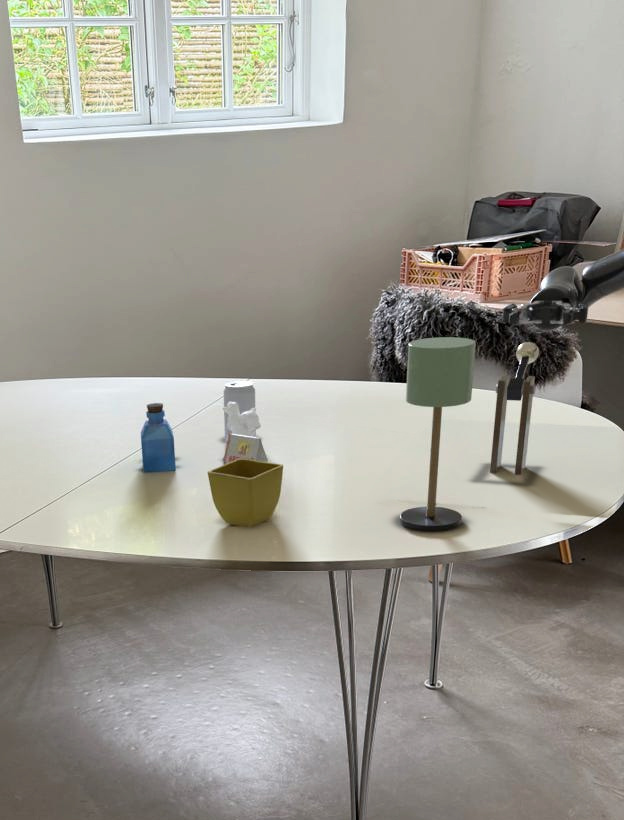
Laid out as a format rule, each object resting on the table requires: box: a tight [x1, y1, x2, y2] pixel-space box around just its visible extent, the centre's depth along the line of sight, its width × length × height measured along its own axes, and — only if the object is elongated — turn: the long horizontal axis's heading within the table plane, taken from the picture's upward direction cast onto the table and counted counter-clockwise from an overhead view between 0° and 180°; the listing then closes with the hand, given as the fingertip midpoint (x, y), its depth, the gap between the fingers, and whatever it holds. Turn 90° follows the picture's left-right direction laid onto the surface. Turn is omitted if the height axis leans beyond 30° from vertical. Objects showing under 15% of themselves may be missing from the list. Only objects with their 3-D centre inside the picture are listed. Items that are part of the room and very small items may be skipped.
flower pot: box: [207, 459, 284, 528], centre depth 150 cm, size 9×9×9 cm
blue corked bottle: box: [140, 402, 177, 473], centre depth 182 cm, size 6×6×12 cm
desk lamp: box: [399, 336, 477, 533], centre depth 139 cm, size 9×9×27 cm
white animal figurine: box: [222, 401, 262, 443], centre depth 180 cm, size 8×7×12 cm
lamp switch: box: [507, 341, 540, 402], centre depth 159 cm, size 13×4×4 cm, turn 151°
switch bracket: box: [489, 374, 537, 475], centre depth 159 cm, size 10×8×17 cm
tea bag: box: [222, 434, 269, 465], centre depth 164 cm, size 4×7×10 cm, turn 46°
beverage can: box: [223, 380, 257, 442], centre depth 194 cm, size 6×6×12 cm
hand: (539, 319), depth 167 cm, fingers open, 8 cm apart
